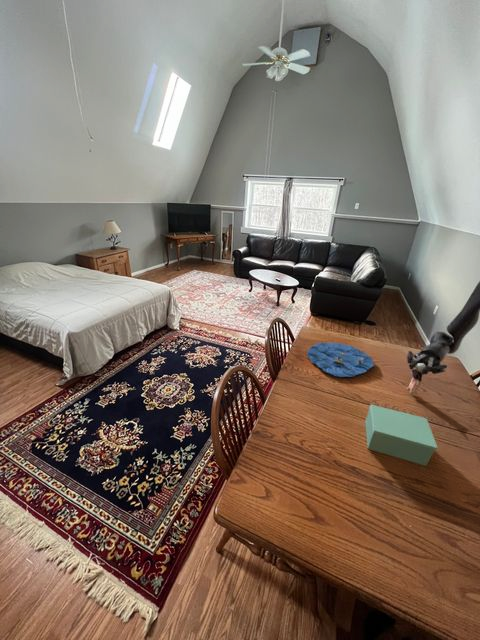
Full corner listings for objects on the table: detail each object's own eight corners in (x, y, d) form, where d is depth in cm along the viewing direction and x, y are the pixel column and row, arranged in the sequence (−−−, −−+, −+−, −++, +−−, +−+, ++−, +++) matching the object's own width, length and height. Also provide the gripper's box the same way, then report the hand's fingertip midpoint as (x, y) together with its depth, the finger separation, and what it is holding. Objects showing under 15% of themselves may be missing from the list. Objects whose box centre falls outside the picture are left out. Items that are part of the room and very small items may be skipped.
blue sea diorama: (300, 371, 118) (302, 361, 115) (311, 340, 143) (313, 331, 140) (374, 388, 107) (377, 377, 105) (372, 351, 132) (374, 342, 130)
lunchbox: (416, 435, 87) (424, 419, 84) (426, 466, 77) (434, 449, 74) (365, 421, 91) (370, 406, 88) (367, 448, 81) (373, 432, 78)
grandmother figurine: (422, 397, 102) (433, 369, 96) (412, 396, 102) (423, 369, 96) (410, 384, 109) (420, 357, 103) (401, 383, 109) (411, 357, 103)
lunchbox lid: (425, 420, 83) (426, 418, 83) (436, 450, 74) (437, 448, 73) (370, 406, 88) (370, 404, 88) (373, 432, 78) (374, 430, 78)
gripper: (416, 339, 112) (400, 352, 102) (456, 354, 103) (443, 370, 92) (411, 354, 115) (394, 369, 105) (449, 370, 106) (435, 387, 96)
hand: (417, 369), depth 99 cm, fingers closed on grandmother figurine, 3 cm apart
